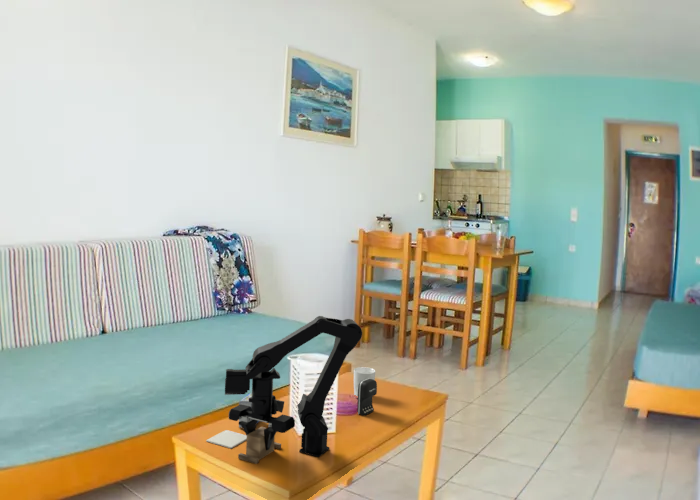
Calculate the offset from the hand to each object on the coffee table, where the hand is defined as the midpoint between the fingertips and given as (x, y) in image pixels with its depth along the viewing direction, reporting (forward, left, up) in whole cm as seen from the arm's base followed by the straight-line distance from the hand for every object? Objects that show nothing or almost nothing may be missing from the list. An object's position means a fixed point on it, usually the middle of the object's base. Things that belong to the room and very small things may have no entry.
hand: (260, 447), depth 166 cm
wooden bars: (0, 0, -2) cm, 2 cm away
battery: (-12, -44, -2) cm, 46 cm away
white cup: (-4, -58, -2) cm, 59 cm away
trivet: (+13, -2, -2) cm, 13 cm away
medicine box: (+15, -15, -2) cm, 22 cm away
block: (0, 0, -2) cm, 2 cm away
